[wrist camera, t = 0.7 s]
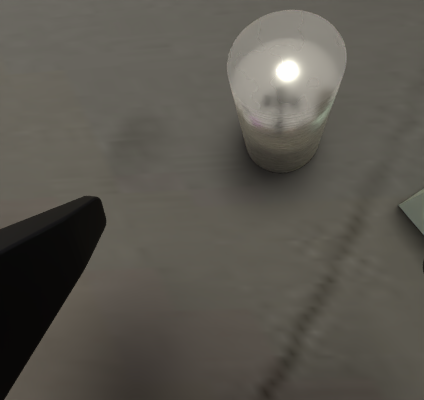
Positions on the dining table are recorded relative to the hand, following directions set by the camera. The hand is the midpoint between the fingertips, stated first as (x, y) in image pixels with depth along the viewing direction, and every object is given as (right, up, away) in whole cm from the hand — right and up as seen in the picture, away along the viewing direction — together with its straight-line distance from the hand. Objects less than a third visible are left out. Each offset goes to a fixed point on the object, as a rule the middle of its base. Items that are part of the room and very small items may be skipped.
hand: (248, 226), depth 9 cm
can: (+4, +5, +14) cm, 16 cm away
